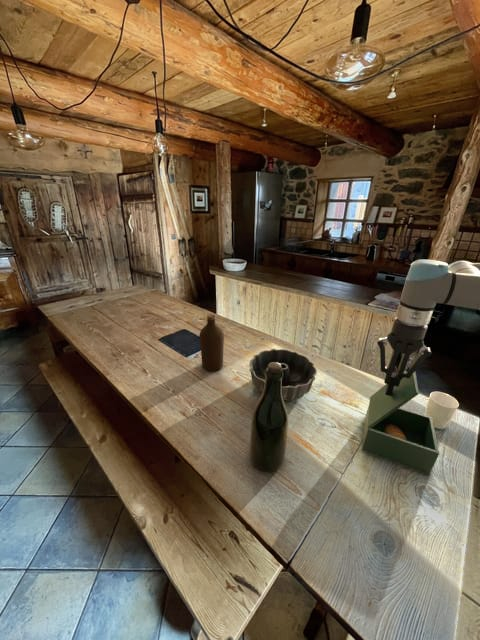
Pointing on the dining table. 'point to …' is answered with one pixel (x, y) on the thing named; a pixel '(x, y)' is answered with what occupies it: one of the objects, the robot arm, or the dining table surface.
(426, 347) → the robot arm
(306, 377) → the bundt pan
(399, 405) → the bin lid
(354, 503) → the dining table surface
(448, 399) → the white cup
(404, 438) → the pastry
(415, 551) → the dining table surface
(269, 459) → the beer bottle
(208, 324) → the olive oil
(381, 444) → the bin
